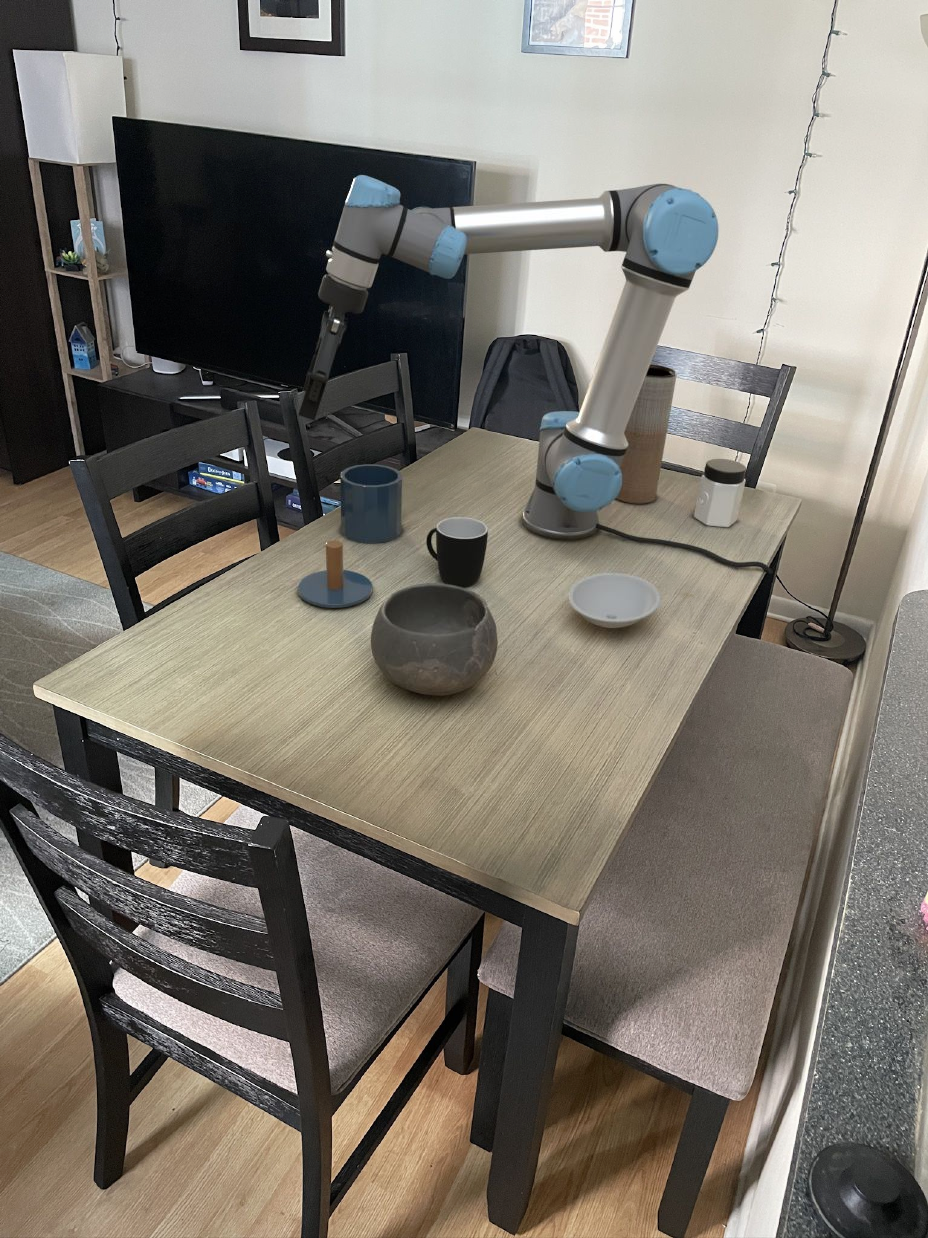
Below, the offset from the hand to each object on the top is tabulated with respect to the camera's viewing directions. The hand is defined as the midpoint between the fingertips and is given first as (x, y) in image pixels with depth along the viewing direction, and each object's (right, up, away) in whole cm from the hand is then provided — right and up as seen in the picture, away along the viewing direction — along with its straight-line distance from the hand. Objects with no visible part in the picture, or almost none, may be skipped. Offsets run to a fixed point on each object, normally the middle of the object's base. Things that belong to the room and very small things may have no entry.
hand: (308, 404), depth 151 cm
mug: (+24, -29, +8) cm, 39 cm away
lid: (+4, -31, +1) cm, 32 cm away
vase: (+64, -9, +46) cm, 79 cm away
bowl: (+22, -46, -21) cm, 55 cm away
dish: (+51, -37, -3) cm, 63 cm away
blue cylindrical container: (+8, -19, +23) cm, 31 cm away
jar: (+80, -16, +37) cm, 89 cm away
